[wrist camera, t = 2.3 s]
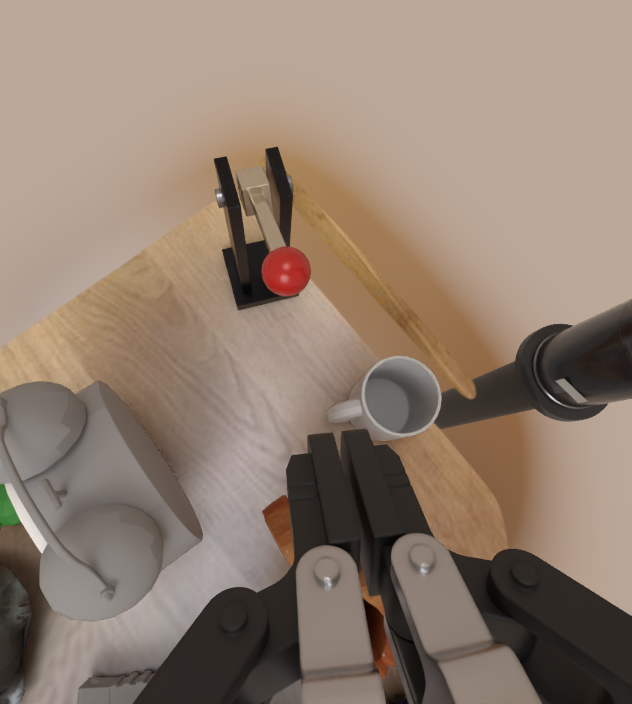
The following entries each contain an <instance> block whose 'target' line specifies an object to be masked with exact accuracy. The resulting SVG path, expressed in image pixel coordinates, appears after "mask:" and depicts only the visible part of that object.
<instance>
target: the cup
mask: <svg viewBox="0 0 632 704" xmlns="http://www.w3.org/2000/svg"><path fill="white" fill-rule="evenodd" d="M440 408H441V392H440V386H439V384H438V382H437V380H436V377H435V376H434V375H433V373H432V372H431V371H430V369H429V368H428V367H426V366H425V365H424V364H423V363H421V362H420V361H417V360H415V359H413V358H410V357H405V356H394V357H389V358H386V359H383V360H381V361H379V362H378V363H377V364H375V365H374V366H373V367H372V368H371V369H370V370H369V371H368V372H367V373H366V374H365V375H364V376H363V377H362V378H361V379H360V380H359V381H358V382H357V383H356V384H355V386H354V387H353V388H352V390H351V392H350V395H349V397H348V400H346V401H343V402H340V403H337V404H335V405H333V406H332V407H331V408H329V409H328V410H327V414H326V417H327V419H328V420H329V422H330V423H336V424H339V423H345V422H349V421H351V423H352V425H353V426H354V427H355V429H356V430H358V429H367V430H368V432H369V435H370V437H371V440H376V441H390V440H395V439H400V438H405V437H409V436H414V435H416V434H419V433H421V432H423V431H425V430H426V429H427V428H428V427H430V426H431V425H432V423H433V422H434V421H435V419H436V418H437V416H438V413H439V410H440Z"/></svg>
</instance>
